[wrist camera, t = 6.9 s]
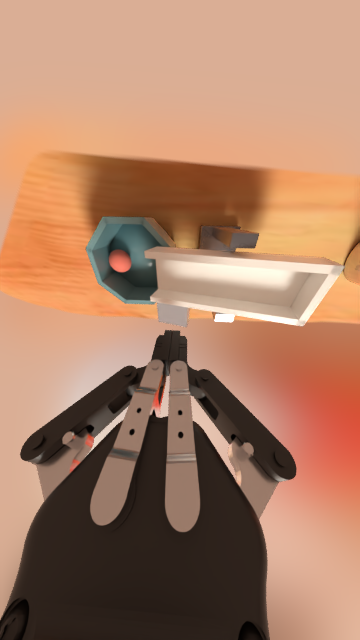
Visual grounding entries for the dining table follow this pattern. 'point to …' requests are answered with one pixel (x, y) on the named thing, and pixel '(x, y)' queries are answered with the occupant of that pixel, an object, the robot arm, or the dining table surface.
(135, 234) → the teal octagonal bowl
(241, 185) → the dining table surface
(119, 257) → the ball
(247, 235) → the lever stand
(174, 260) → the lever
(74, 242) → the dining table surface
